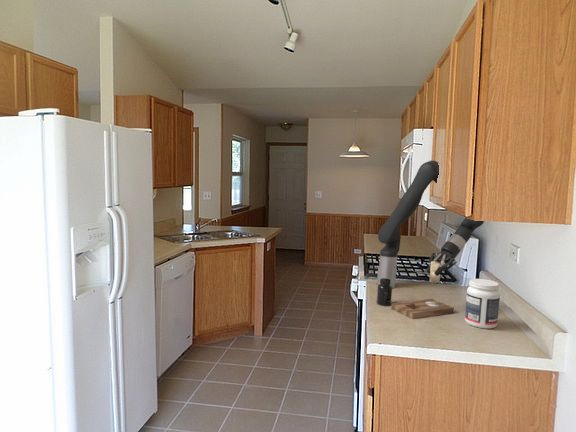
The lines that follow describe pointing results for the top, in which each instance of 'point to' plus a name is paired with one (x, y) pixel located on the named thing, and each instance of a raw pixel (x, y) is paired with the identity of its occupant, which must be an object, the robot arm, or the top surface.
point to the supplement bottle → (384, 292)
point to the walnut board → (422, 308)
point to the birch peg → (433, 268)
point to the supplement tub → (482, 303)
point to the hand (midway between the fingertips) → (431, 273)
